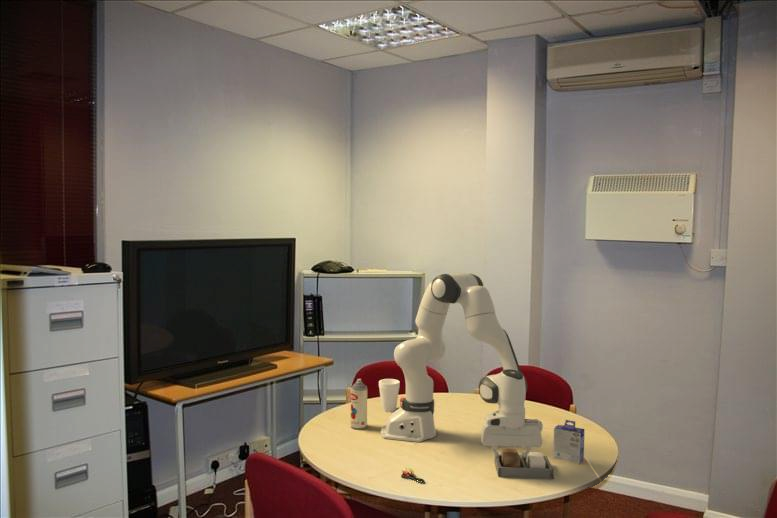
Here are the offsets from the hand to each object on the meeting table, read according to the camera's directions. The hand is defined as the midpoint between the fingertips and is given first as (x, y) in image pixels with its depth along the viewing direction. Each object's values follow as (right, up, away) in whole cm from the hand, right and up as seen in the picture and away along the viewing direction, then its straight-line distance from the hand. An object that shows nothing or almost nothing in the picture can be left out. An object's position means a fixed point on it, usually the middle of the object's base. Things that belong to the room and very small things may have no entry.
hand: (510, 458), depth 206 cm
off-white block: (+8, -4, 0) cm, 9 cm away
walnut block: (0, -4, 0) cm, 4 cm away
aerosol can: (-54, -2, +45) cm, 70 cm away
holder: (+4, -5, 0) cm, 7 cm away
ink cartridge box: (+23, -5, +11) cm, 26 cm away
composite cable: (-34, -6, -5) cm, 35 cm away
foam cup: (-41, -1, +68) cm, 80 cm away
